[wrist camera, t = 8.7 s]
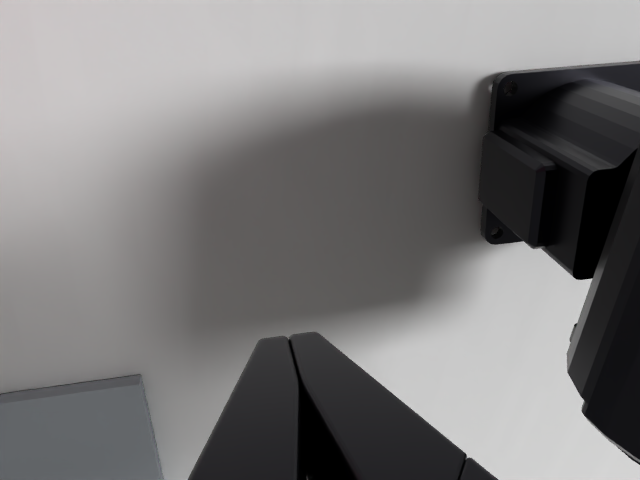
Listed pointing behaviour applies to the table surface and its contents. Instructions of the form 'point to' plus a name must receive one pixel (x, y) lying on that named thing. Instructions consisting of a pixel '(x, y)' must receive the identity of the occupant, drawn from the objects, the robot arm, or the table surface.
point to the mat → (79, 433)
